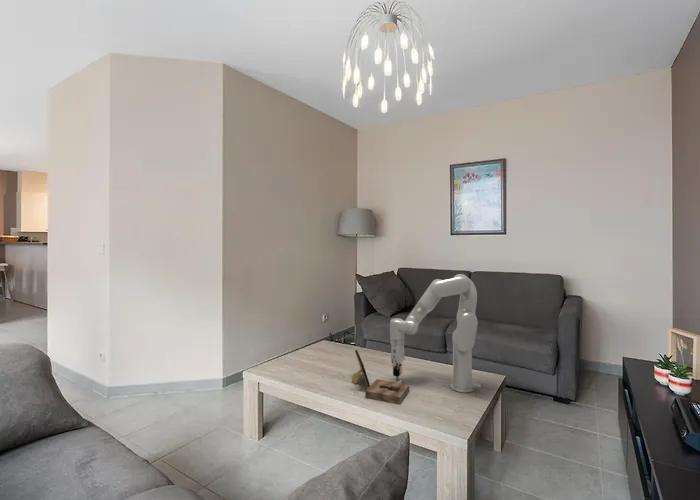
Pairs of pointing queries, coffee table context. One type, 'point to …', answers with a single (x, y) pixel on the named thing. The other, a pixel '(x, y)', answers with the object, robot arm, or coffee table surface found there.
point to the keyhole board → (387, 391)
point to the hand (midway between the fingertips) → (397, 374)
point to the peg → (399, 375)
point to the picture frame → (360, 371)
